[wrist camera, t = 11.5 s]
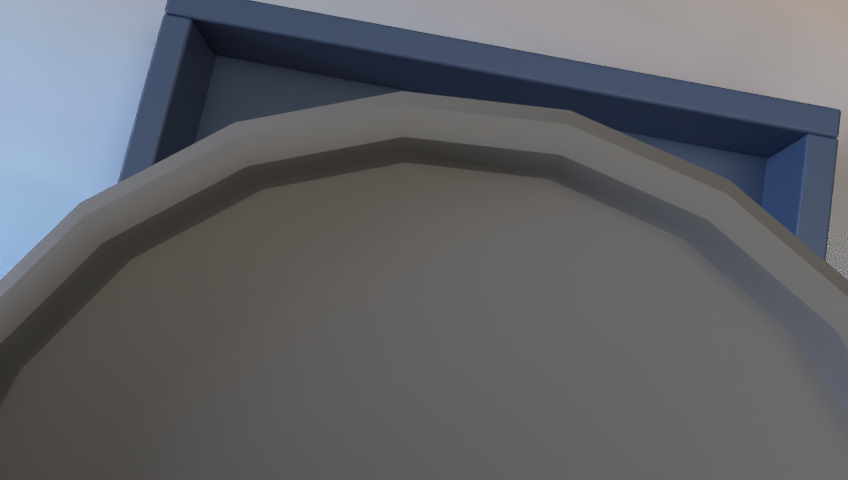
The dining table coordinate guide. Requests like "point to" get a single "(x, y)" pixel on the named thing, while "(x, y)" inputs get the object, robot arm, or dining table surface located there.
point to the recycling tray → (470, 97)
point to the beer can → (423, 312)
